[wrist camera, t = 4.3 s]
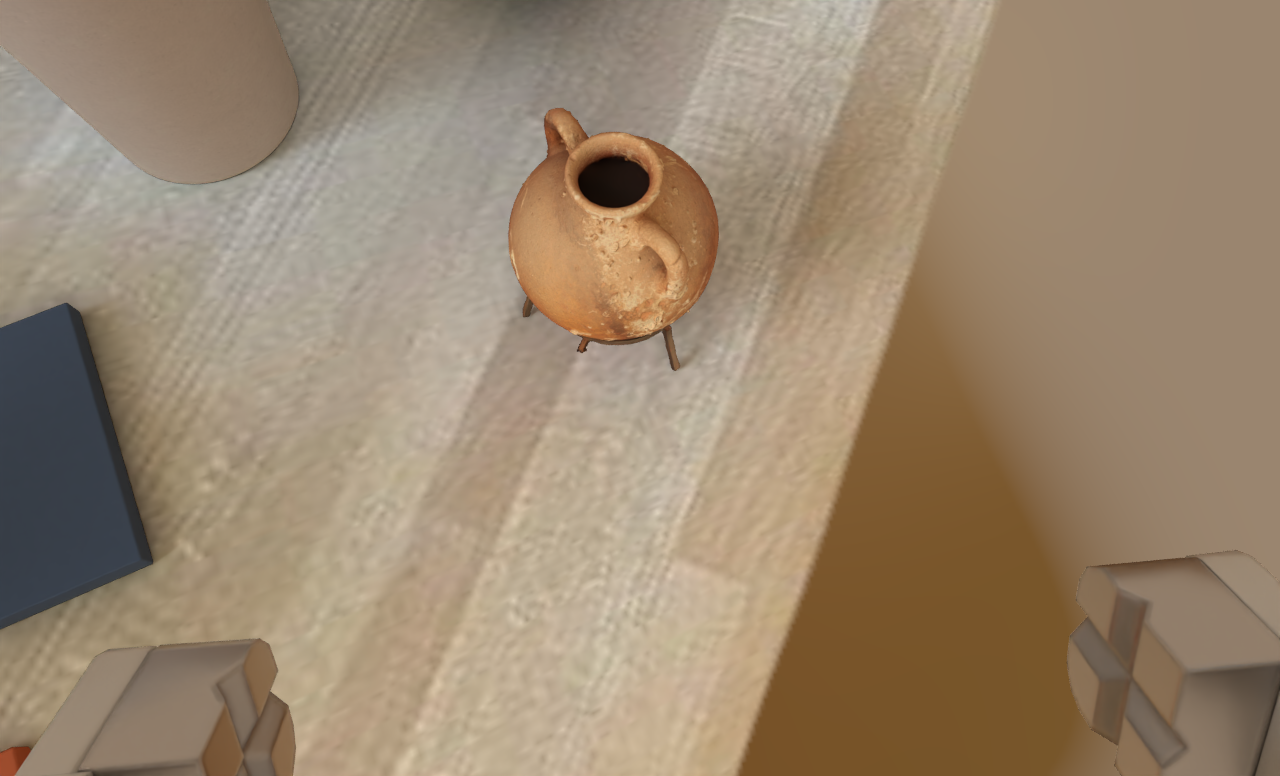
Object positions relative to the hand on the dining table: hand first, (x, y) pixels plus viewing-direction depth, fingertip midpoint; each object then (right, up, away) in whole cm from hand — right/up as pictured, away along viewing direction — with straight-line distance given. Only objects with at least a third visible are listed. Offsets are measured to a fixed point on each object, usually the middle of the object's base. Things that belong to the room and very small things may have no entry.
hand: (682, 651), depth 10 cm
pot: (-1, +5, +22) cm, 23 cm away
